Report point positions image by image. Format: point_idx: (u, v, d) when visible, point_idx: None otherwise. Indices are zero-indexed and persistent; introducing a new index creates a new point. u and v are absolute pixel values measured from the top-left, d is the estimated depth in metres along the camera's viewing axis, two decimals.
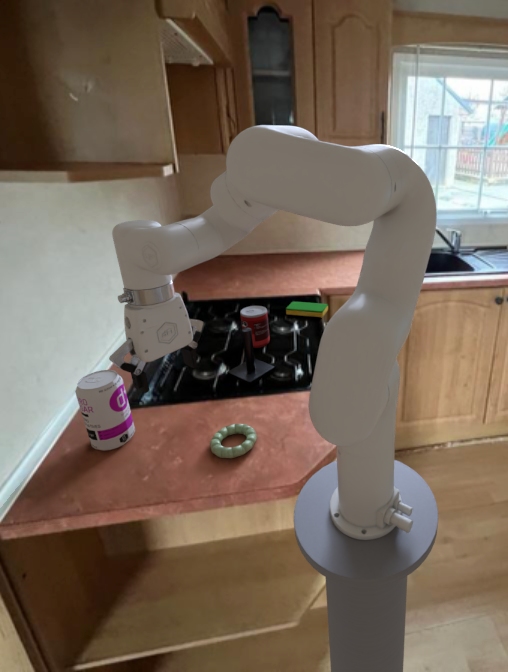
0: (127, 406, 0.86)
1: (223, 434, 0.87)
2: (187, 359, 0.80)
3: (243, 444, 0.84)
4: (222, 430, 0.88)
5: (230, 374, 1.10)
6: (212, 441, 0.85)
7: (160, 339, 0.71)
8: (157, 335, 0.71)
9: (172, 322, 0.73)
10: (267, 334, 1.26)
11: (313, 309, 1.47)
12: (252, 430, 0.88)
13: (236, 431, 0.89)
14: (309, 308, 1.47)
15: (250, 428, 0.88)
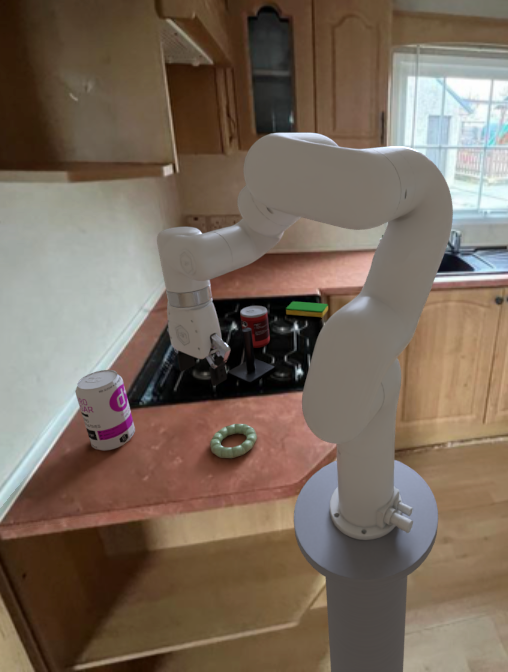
0: (127, 406, 0.86)
1: (223, 434, 0.87)
2: None
3: (243, 444, 0.84)
4: (222, 430, 0.88)
5: (230, 374, 1.10)
6: (212, 441, 0.85)
7: (178, 336, 0.77)
8: (176, 331, 0.77)
9: (185, 328, 0.75)
10: (267, 334, 1.26)
11: (313, 309, 1.47)
12: (252, 430, 0.88)
13: (236, 431, 0.89)
14: (309, 308, 1.47)
15: (250, 428, 0.88)
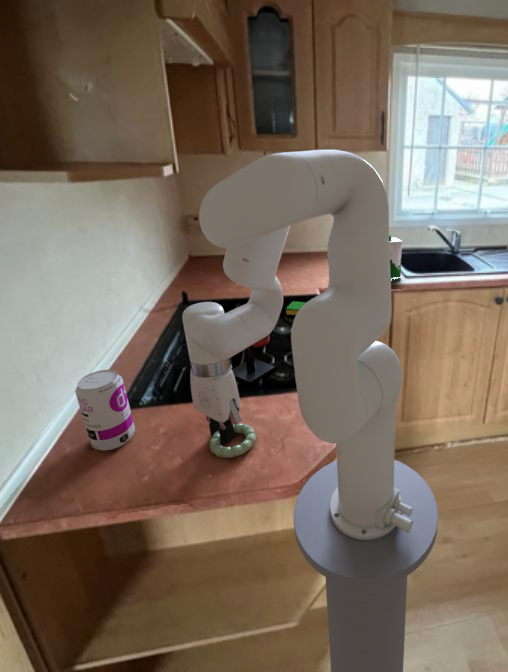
0: (127, 406, 0.86)
1: None
2: None
3: (242, 444, 0.84)
4: None
5: None
6: (211, 441, 0.85)
7: (200, 400, 0.83)
8: (198, 395, 0.83)
9: (207, 395, 0.81)
10: None
11: None
12: (251, 430, 0.88)
13: (235, 431, 0.89)
14: None
15: (249, 428, 0.88)
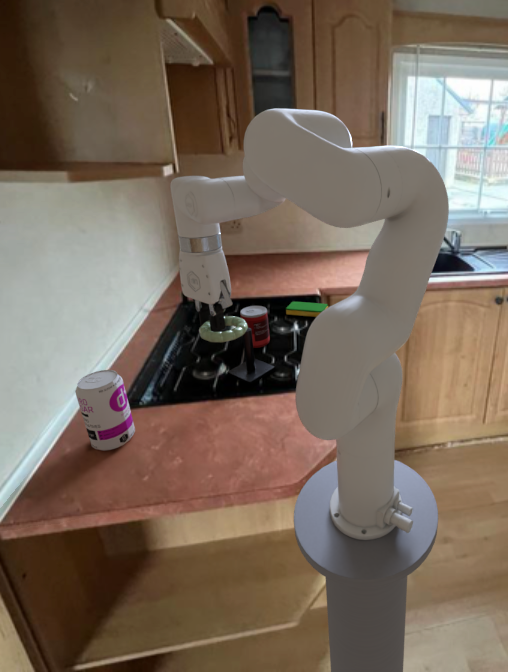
0: (127, 406, 0.86)
1: None
2: None
3: (233, 329, 0.81)
4: None
5: (230, 374, 1.10)
6: (201, 327, 0.82)
7: (189, 283, 0.80)
8: (187, 278, 0.80)
9: (196, 274, 0.78)
10: (267, 334, 1.26)
11: (313, 309, 1.47)
12: (243, 320, 0.85)
13: (226, 322, 0.86)
14: (309, 308, 1.47)
15: (241, 319, 0.85)
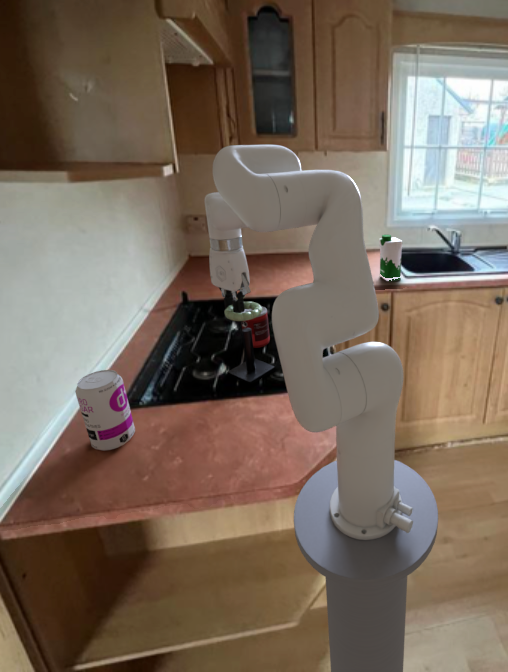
0: (127, 406, 0.86)
1: None
2: None
3: (251, 311, 1.03)
4: None
5: (230, 374, 1.10)
6: (226, 310, 1.04)
7: (217, 275, 1.03)
8: (216, 271, 1.03)
9: (223, 268, 1.00)
10: (267, 334, 1.26)
11: None
12: (258, 304, 1.07)
13: (245, 306, 1.08)
14: None
15: (257, 303, 1.08)
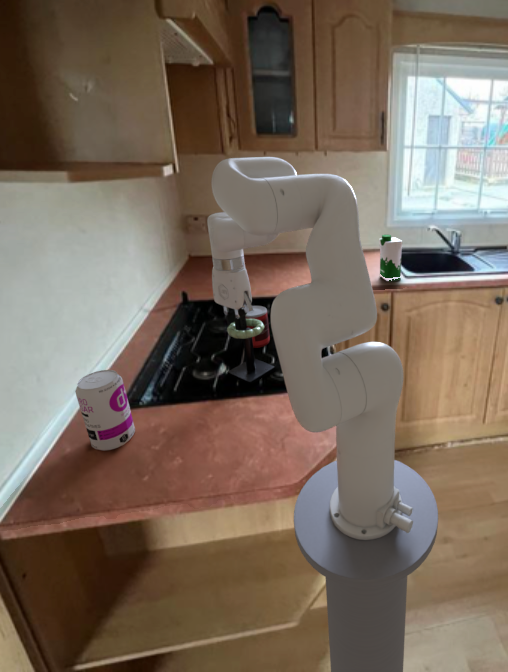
0: (127, 406, 0.86)
1: None
2: None
3: (253, 328, 1.05)
4: None
5: (230, 374, 1.10)
6: (228, 327, 1.06)
7: (220, 293, 1.04)
8: (218, 289, 1.04)
9: (225, 286, 1.02)
10: (267, 334, 1.26)
11: None
12: (260, 321, 1.09)
13: (247, 323, 1.10)
14: None
15: (259, 320, 1.09)
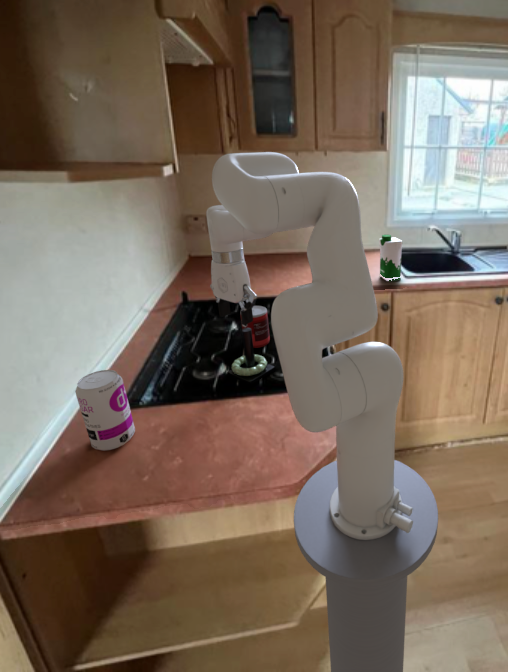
0: (127, 406, 0.86)
1: (241, 361, 1.13)
2: None
3: (257, 366, 1.09)
4: (240, 358, 1.13)
5: (230, 374, 1.10)
6: (233, 364, 1.10)
7: (219, 286, 1.04)
8: (217, 283, 1.04)
9: (224, 280, 1.02)
10: (267, 334, 1.26)
11: None
12: (263, 358, 1.14)
13: None
14: None
15: (262, 357, 1.14)
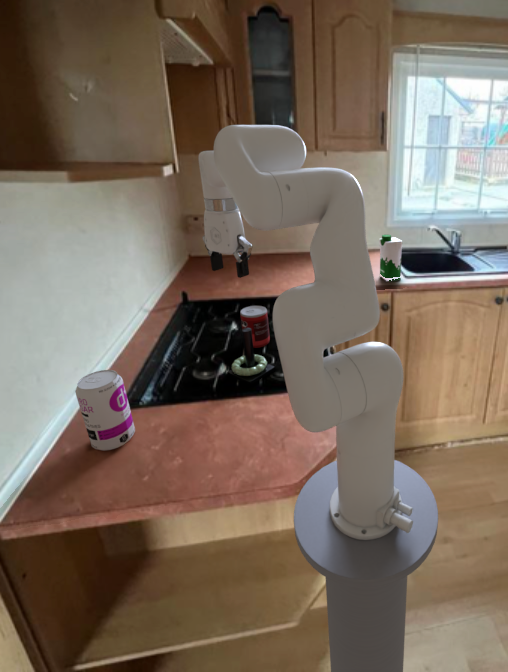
0: (127, 406, 0.86)
1: (241, 361, 1.13)
2: None
3: (257, 366, 1.09)
4: (240, 358, 1.13)
5: (230, 374, 1.10)
6: (233, 364, 1.10)
7: (212, 238, 0.99)
8: (211, 234, 0.99)
9: (218, 230, 0.97)
10: (267, 334, 1.26)
11: None
12: (263, 358, 1.14)
13: None
14: None
15: (262, 357, 1.14)
